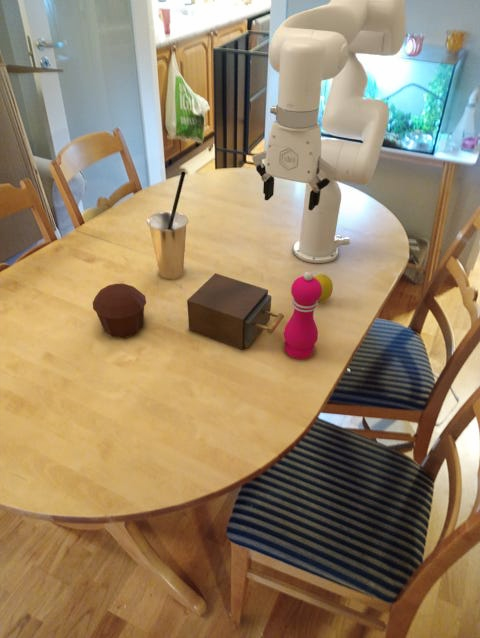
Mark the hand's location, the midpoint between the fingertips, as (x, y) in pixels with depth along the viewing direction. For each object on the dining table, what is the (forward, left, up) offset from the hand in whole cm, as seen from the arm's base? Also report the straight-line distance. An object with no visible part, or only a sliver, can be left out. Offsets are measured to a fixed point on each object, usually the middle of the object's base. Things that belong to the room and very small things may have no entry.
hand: (290, 202), depth 97 cm
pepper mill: (+2, +15, -27) cm, 31 cm away
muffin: (+37, -3, -27) cm, 46 cm away
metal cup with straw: (+22, -21, -27) cm, 41 cm away
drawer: (+11, +6, -26) cm, 29 cm away
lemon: (-10, +1, -27) cm, 29 cm away
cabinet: (+14, +3, -27) cm, 31 cm away
